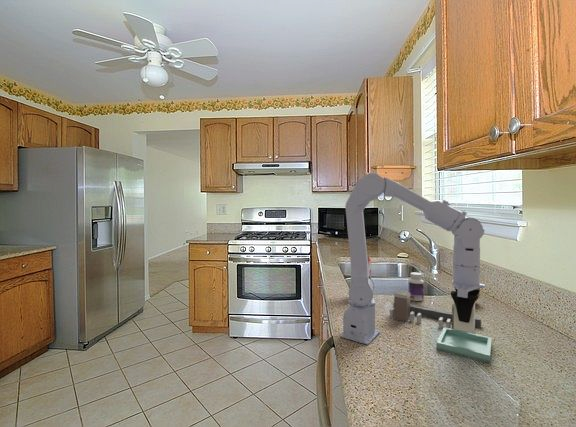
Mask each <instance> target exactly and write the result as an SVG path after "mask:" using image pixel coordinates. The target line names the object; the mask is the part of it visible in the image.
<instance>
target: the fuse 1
mask: <svg viewBox="0 0 576 427" xmlns="http://www.w3.org/2000/svg"><path fill="white" fill-rule="evenodd" d="M393 297H394V298H393V300H394V301H393V303H394V317H393V319H394V320H397V321H402V322H405V323H407V322H408V321H410V305H411V300H410V293H409V292H408V291H402V290H397V291H395V292H394V294H393Z"/></svg>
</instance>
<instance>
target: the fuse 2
mask: <svg viewBox="0 0 576 427" xmlns="http://www.w3.org/2000/svg"><path fill="white" fill-rule="evenodd" d="M451 312H452V322H451V329H454V301H453V302H452V304H451ZM459 331H460V330H459ZM464 332H465V331H464Z"/></svg>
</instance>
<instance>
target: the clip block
mask: <svg viewBox="0 0 576 427" xmlns="http://www.w3.org/2000/svg"><path fill="white" fill-rule="evenodd" d="M415 315H416V324H420V323H422V316H423V317H426V318H432V319H438V329H443V328H444V321H446V324H445V325H446V326H445V328H450V329H452V311H447V310H441V309H437V308H431V307H425V306H421V305H415V304H410V318H409V322H411V323H413V322H414V321H415ZM389 317H390V318H393V319H394V302H393V305H392V307H391V308H390V309H389ZM476 328H482V317H478V316H475V329H474V333H473V334H476Z"/></svg>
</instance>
